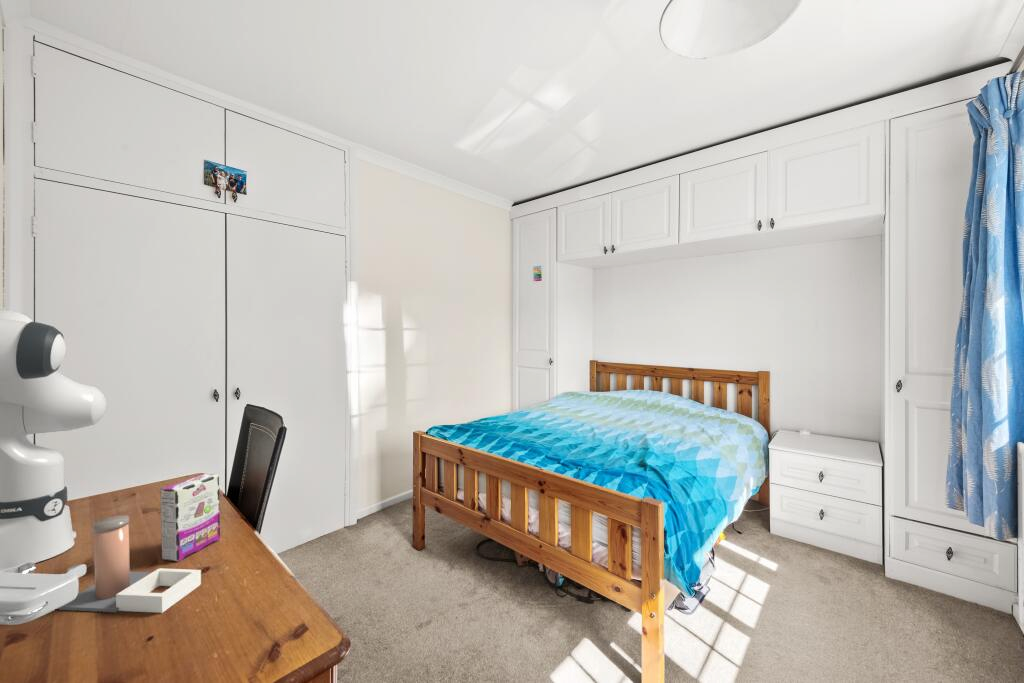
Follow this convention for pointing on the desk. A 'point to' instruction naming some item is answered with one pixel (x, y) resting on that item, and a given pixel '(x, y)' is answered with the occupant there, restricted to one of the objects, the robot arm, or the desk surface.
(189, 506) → the candy bar box
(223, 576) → the desk surface
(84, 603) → the mat
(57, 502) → the robot arm
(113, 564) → the canister
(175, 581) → the frame
